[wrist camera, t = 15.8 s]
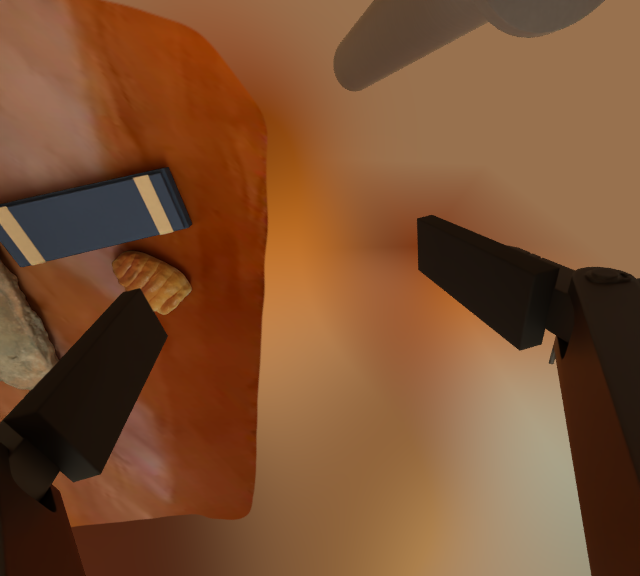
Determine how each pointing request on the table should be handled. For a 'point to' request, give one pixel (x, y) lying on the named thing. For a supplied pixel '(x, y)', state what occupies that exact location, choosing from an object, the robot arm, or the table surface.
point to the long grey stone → (21, 337)
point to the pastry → (152, 280)
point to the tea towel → (92, 217)
